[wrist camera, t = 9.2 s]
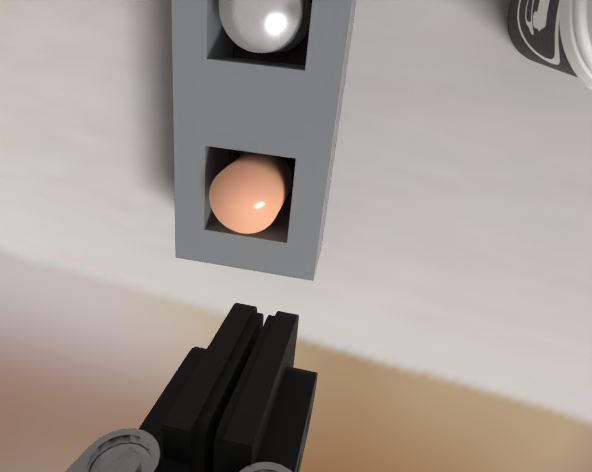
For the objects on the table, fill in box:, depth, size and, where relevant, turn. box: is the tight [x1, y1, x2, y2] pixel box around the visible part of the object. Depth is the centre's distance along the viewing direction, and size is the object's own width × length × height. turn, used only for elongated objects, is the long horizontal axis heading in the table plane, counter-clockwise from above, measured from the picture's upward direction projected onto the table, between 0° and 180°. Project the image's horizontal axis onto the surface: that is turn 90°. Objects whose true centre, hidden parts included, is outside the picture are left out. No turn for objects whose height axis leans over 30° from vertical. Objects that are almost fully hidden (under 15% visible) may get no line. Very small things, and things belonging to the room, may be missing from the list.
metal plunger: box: [219, 0, 311, 53], centre depth 28 cm, size 5×5×6 cm
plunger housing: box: [171, 0, 356, 281], centre depth 31 cm, size 11×24×6 cm, turn 174°
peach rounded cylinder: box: [209, 152, 292, 234], centre depth 32 cm, size 5×5×6 cm
